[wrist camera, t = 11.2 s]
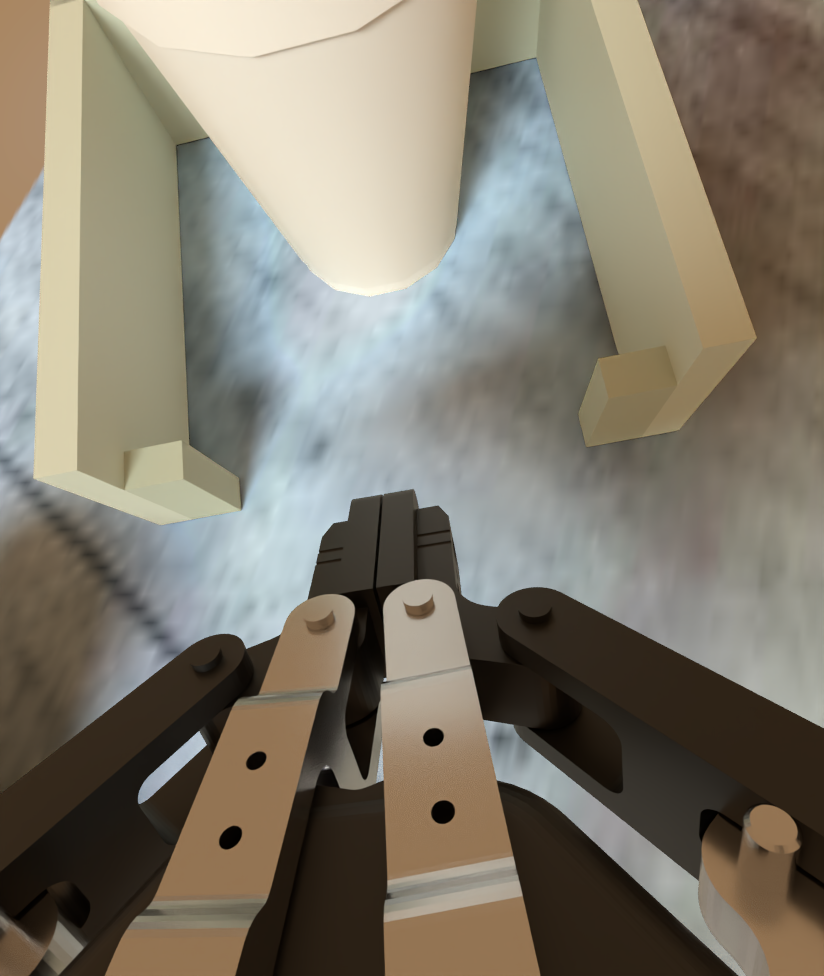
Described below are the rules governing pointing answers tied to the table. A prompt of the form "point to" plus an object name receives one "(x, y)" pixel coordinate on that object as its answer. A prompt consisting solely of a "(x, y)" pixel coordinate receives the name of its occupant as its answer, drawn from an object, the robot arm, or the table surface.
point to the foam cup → (329, 119)
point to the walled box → (157, 251)
